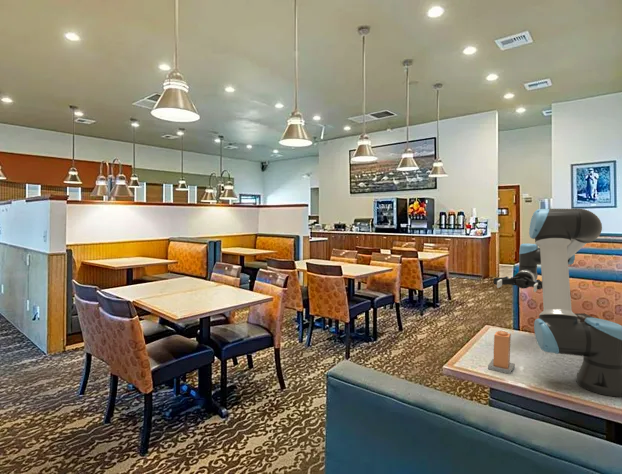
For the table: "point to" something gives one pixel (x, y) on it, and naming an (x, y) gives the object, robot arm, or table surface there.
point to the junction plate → (502, 369)
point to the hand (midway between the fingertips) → (515, 286)
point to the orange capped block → (502, 349)
